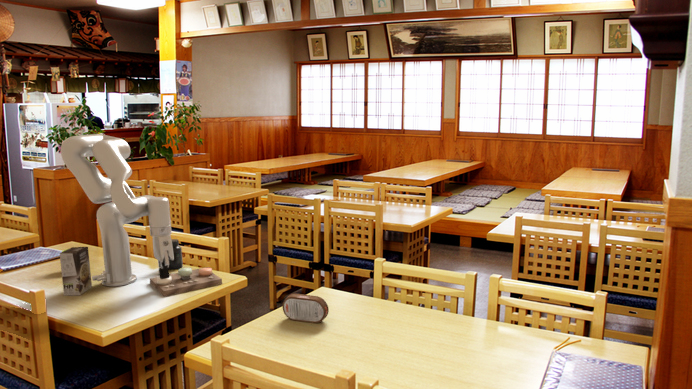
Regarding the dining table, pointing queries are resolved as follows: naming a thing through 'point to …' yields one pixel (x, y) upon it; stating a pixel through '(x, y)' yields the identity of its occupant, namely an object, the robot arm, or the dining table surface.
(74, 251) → the coffee box
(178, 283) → the button panel
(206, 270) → the terracotta button
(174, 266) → the supplement bottle
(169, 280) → the cream button
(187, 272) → the sage button
